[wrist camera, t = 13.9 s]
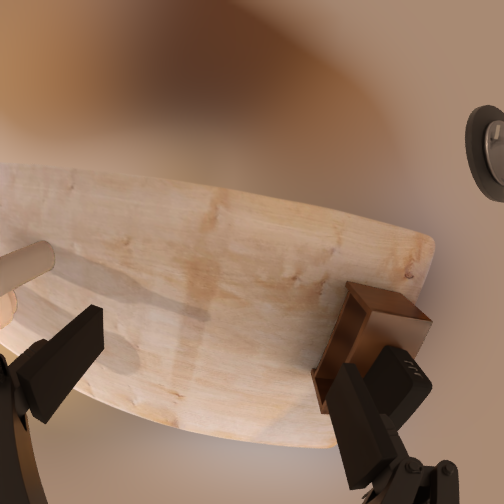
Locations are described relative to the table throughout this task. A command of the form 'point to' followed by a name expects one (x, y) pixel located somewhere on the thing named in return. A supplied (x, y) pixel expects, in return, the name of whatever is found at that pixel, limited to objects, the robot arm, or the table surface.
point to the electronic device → (397, 384)
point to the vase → (7, 308)
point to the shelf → (368, 333)
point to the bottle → (25, 265)
